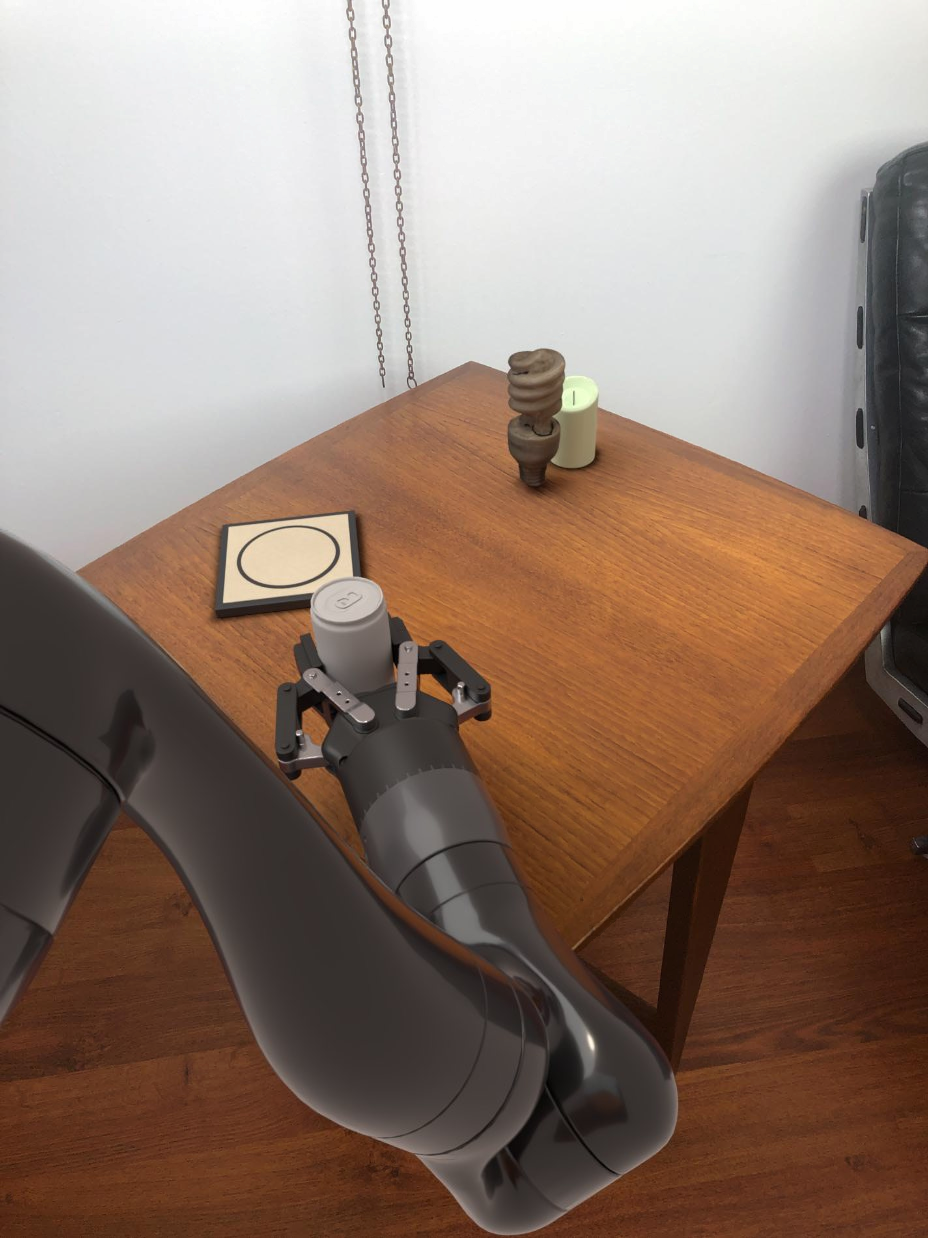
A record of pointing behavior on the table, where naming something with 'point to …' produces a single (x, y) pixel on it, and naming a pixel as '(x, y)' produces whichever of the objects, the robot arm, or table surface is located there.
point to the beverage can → (353, 633)
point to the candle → (577, 423)
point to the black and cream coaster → (283, 561)
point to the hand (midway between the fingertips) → (345, 633)
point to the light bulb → (535, 410)
